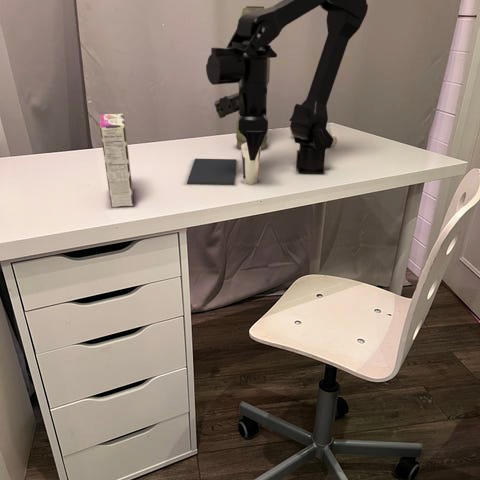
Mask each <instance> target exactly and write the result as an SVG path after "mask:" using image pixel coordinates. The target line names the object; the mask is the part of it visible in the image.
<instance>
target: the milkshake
mask: <svg viewBox="0 0 480 480" xmlns="http://www.w3.org/2000/svg"><path fill="white" fill-rule="evenodd" d="M240 151H241V163H242V180H243V183H244V184H249V185H253V184H257V182H258V176H259V166H260V157H261V152H262V150H261V147H260V149H259V151H258V154H257V156H256V159H255V160H254V161H251V160H250V158H249V152H248V147H247V142H246V143H244V144H242V145H241V150H240Z"/></svg>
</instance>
